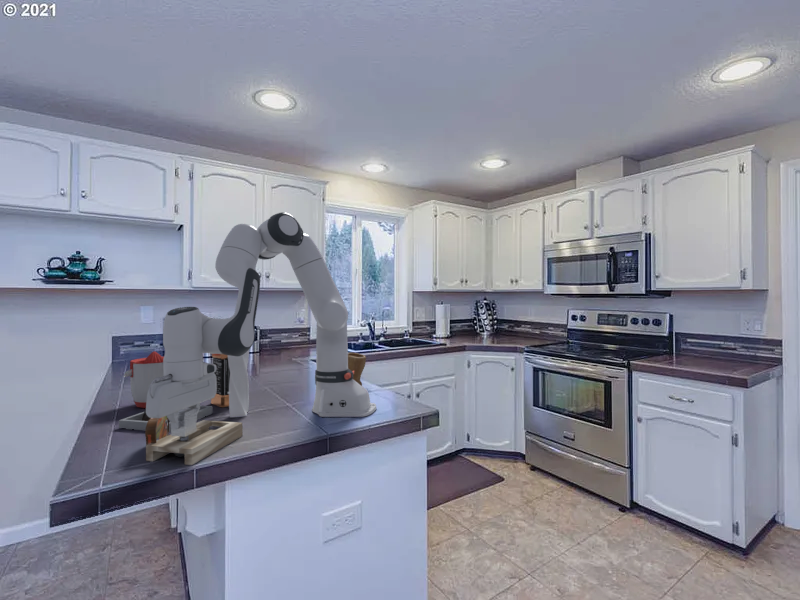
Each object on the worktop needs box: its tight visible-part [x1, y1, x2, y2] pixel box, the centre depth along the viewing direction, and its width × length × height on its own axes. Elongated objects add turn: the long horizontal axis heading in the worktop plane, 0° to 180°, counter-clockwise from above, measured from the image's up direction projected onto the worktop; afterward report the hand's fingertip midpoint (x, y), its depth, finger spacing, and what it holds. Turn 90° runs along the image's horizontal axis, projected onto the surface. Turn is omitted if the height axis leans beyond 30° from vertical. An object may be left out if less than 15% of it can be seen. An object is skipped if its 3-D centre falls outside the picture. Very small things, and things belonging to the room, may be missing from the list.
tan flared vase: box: [348, 352, 367, 387], centre depth 174 cm, size 15×12×15 cm
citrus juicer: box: [123, 351, 164, 409], centre depth 147 cm, size 16×17×20 cm
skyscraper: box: [228, 349, 250, 418], centre depth 133 cm, size 8×8×28 cm
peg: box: [170, 408, 197, 458], centre depth 100 cm, size 4×4×11 cm
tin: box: [144, 416, 170, 446], centre depth 104 cm, size 15×3×8 cm, turn 20°
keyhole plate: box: [145, 419, 244, 466], centre depth 105 cm, size 13×20×4 cm, turn 168°
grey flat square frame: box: [118, 405, 213, 433], centre depth 128 cm, size 18×19×2 cm
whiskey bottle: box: [210, 317, 230, 408], centre depth 149 cm, size 10×10×32 cm
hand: (184, 425), depth 100 cm, fingers closed on peg, 4 cm apart
